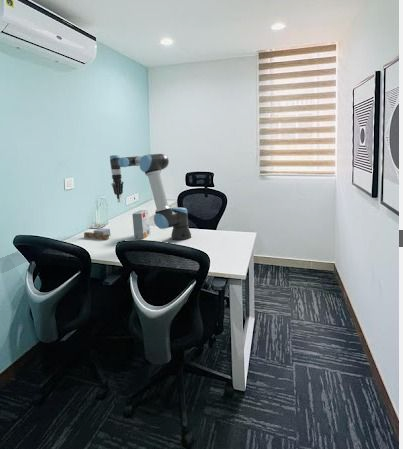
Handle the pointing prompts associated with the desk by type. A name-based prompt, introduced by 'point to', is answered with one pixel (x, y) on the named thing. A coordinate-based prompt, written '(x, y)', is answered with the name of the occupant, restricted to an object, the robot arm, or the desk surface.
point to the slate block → (103, 231)
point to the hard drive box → (141, 224)
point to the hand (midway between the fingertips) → (119, 202)
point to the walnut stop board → (96, 235)
